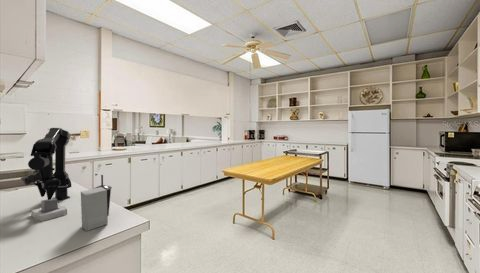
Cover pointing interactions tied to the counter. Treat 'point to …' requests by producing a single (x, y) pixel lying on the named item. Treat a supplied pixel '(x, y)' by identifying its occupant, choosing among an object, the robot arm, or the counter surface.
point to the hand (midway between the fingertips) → (46, 198)
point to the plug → (49, 205)
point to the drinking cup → (107, 193)
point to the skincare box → (94, 208)
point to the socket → (48, 213)
